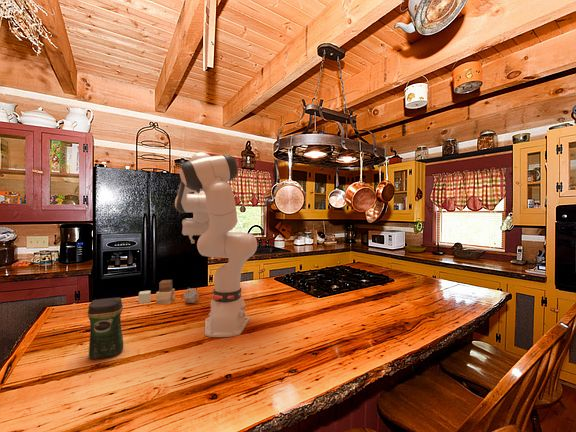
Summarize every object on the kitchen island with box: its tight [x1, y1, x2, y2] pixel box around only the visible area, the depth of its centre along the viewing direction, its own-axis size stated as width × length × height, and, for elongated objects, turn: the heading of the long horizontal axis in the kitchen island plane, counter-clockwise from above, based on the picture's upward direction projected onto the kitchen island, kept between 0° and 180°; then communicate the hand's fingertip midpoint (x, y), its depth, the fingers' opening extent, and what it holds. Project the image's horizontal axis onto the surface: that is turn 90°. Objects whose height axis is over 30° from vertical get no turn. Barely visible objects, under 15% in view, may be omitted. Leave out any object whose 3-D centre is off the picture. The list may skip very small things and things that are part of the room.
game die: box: [182, 286, 201, 305], centre depth 140 cm, size 9×8×10 cm
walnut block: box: [158, 279, 173, 292], centre depth 142 cm, size 5×5×5 cm
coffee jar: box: [87, 296, 124, 360], centre depth 91 cm, size 10×8×19 cm
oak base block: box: [155, 288, 176, 305], centre depth 142 cm, size 7×7×6 cm
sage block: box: [138, 290, 152, 305], centre depth 142 cm, size 5×5×5 cm
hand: (201, 243), depth 149 cm, fingers open, 8 cm apart
